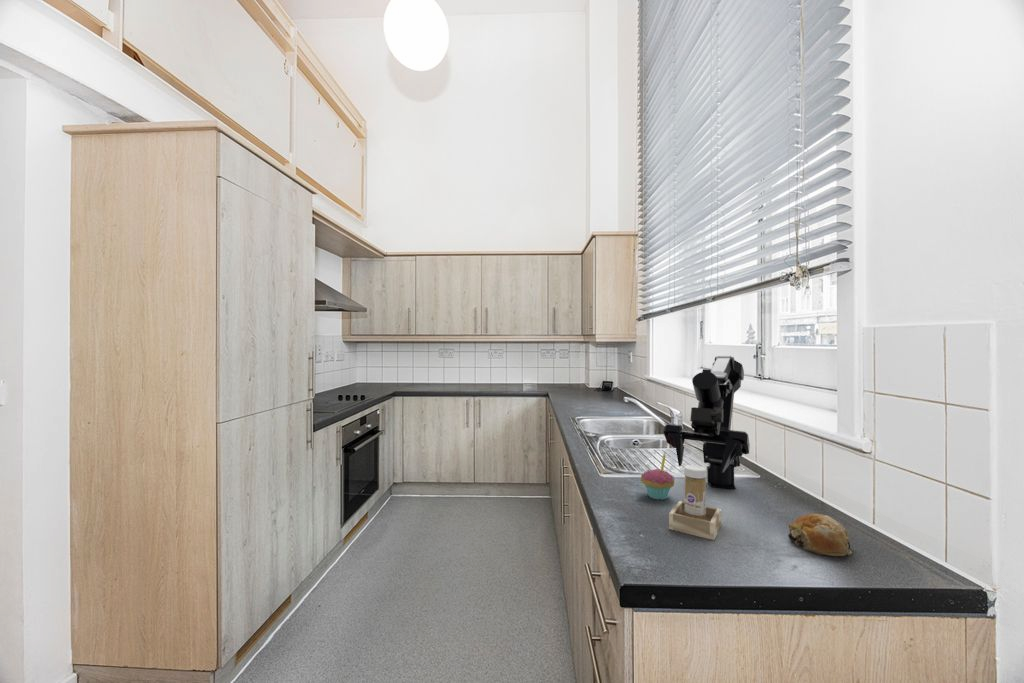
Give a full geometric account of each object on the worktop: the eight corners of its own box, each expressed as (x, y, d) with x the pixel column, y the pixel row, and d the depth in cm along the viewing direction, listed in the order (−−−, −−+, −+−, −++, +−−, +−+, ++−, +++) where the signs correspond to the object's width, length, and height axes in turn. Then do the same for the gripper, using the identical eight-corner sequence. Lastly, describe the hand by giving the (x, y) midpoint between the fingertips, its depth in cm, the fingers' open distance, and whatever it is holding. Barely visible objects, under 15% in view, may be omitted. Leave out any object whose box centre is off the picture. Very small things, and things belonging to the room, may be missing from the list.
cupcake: (669, 491, 117) (669, 448, 117) (678, 503, 109) (678, 456, 109) (638, 490, 118) (637, 447, 118) (644, 502, 110) (644, 455, 110)
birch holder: (679, 515, 101) (679, 500, 101) (721, 524, 96) (721, 509, 96) (669, 529, 94) (669, 513, 94) (714, 540, 89) (713, 523, 89)
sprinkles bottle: (682, 528, 94) (681, 467, 94) (687, 520, 98) (686, 462, 98) (704, 533, 92) (704, 471, 92) (708, 525, 95) (708, 466, 95)
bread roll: (842, 580, 80) (865, 546, 78) (784, 544, 85) (804, 512, 83) (836, 557, 88) (857, 526, 87) (783, 526, 93) (802, 496, 92)
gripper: (665, 392, 109) (652, 443, 100) (747, 397, 98) (741, 455, 89) (673, 418, 115) (662, 469, 106) (751, 425, 105) (746, 482, 95)
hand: (700, 468), depth 99 cm, fingers open, 9 cm apart
